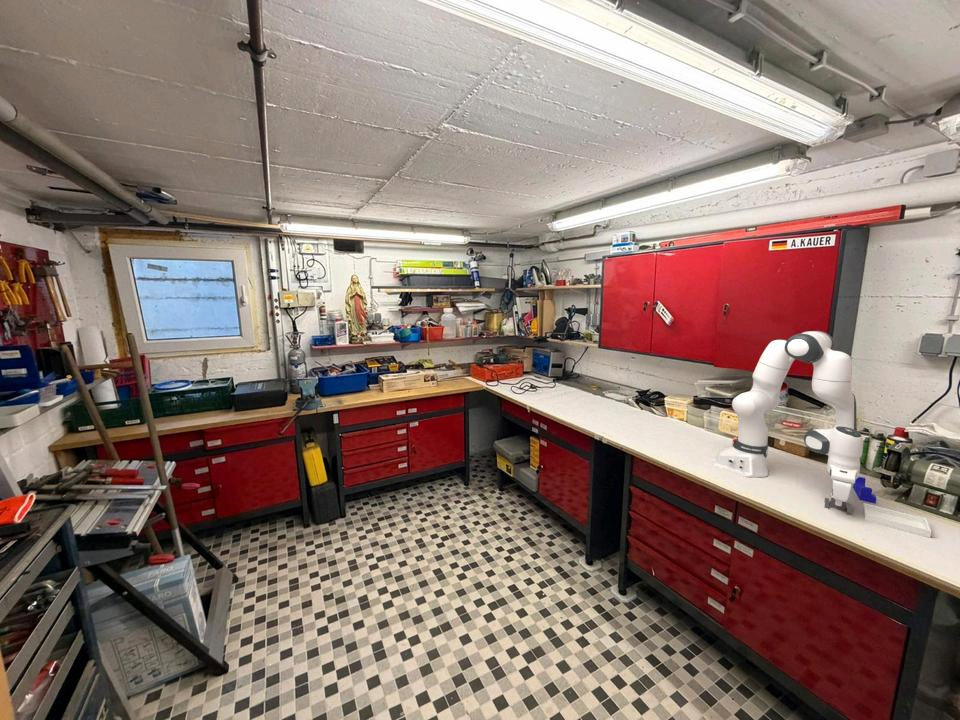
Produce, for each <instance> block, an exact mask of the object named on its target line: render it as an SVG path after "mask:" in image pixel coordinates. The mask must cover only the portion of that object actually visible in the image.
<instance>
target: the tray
mask: <svg viewBox="0 0 960 720" xmlns="http://www.w3.org/2000/svg"><path fill="white" fill-rule="evenodd" d="M862 508H863V517H864V520H865V521H868V522H871V523H874V524H878V525H882V526H885V527H889V528H892V529H896V530H899V531H902V532H903V531H904V532H906V533H907V532H908V533H910V534H914V535H918V536H922V537H926V538H929V539H931V535H932V530H931V526H930V524H929V522H928V520H927V518H926V517H923V516H918V515H914V514H911V513H910V514H909V513H904V512H903V511H897V510H893V509H891V508H886V507H882V506H878V505H875V504H871V503H867V502H866V503H865V502H863V506H862Z"/></svg>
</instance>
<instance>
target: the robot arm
mask: <svg viewBox="0 0 960 720" xmlns="http://www.w3.org/2000/svg"><path fill="white" fill-rule="evenodd" d="M834 345H835V341H834V338H833V337H832V336H831V335H830V334H829V333H827V332H824V331H822V330H821V331H820V330H813V331H812V330H811V331H803V332H802V333H797V334H794V335H792V336H790V337H789V338H788V339H787V340H786V339H775V340H771V342H769V343H768V345H767V346H766V347H765V349H764V351H763V352H762V354H761V355H760V357H759V360H758V362H757V364H756V366H755V369H754V370H753V373H752V374H751V375H752V376H751V377H752V380H753V381H752V386H751V389H750V390H749V391H746V392H742V393H739V394H738V395H737V396H735V397H734V398H733V399H732V401H731V407H732V409H733V410H734V412H735V413H736V416H737V419H738V434H737V436H738V437H737V436H734V437H733V438H732V443H731V444H732V445H731V446H728V447H724V448H722V449H721V450H719V452H718V454H717V456H715V457H713V458H712V459H711V462H710V463H711V465H712V466H713V467H716V468H720V469H722V470H724V471H728V472H729V473H732V474H735V475H739V476H742V477H744V478H764V477H765V478H766V477H768V476H769V469H768V463H767V457H768V455H769V444H768V439H769V427H768V425H767V424H766V420H765V415H766V413H769V412H772V411H773V410H775V409H776V408H778V407H779V405H780V401H781V398H780V394H781V389H782V386H783V383H784V381H785V379H786V377H787V375H788V372H789V371H790V368H791V366H792V364H793V363H794V361H795V360H797V361H800V362H803V363H806V364H808V365H810V364H812V366H813V371H812V372H813V373H812V379H811V389H812V392H813V393H814V395H816V396H817V397H818V398H820V399H821V400H823V401H827V402H829V403H832V405H833V406H834V408H835V410H834V411H835V425H833V427H832V428H831V427H830V428H815V429H810V430H807V431H806V432H805V433H804V435H803V442H804V445H805V446H806V448H807V449H808V450H809V451H811V452H814V453H816V454H819V455H820V454H821V455H826V456H827V457H828V458H827V465H826V471H827V472H828V473H829V476H830V479H831V481H832V489H833V498H834V499H835V500H836V501H835V505H837V506H842V502H846V503H848V501H849V497H850V495H851V491H852V488H853V484H854V483H855V480H856V479H857V478H858V477H860V469H861V461H860V460H861V458H862V456H863V449H864V440H863V435H862V434H861V433H860V432H859V431H858V430H857V428H858V427H857V424H858V423H857V401H856V396H855V395H854V393H853V392H852V379H853V363H852V358H851V356H850V355H849V354H847V353H845V352H843V351H839V350H833V348H834Z"/></svg>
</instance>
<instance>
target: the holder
mask: <svg viewBox="0 0 960 720" xmlns="http://www.w3.org/2000/svg"><path fill="white" fill-rule="evenodd" d="M824 508H825V509H827V510H829V509H830V498H829V497H824ZM845 512H846V515H847V516H852V512H853V511H852V505H851V503H848V502H846V507H845Z"/></svg>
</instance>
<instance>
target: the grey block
mask: <svg viewBox="0 0 960 720" xmlns="http://www.w3.org/2000/svg"><path fill="white" fill-rule="evenodd" d="M835 501H836V500H835V499H834V498H833V488H832V489H831V494H830V508H832V509H835V510H839V511H841V512H846V504H847V502H842V506H837V505H835Z"/></svg>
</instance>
